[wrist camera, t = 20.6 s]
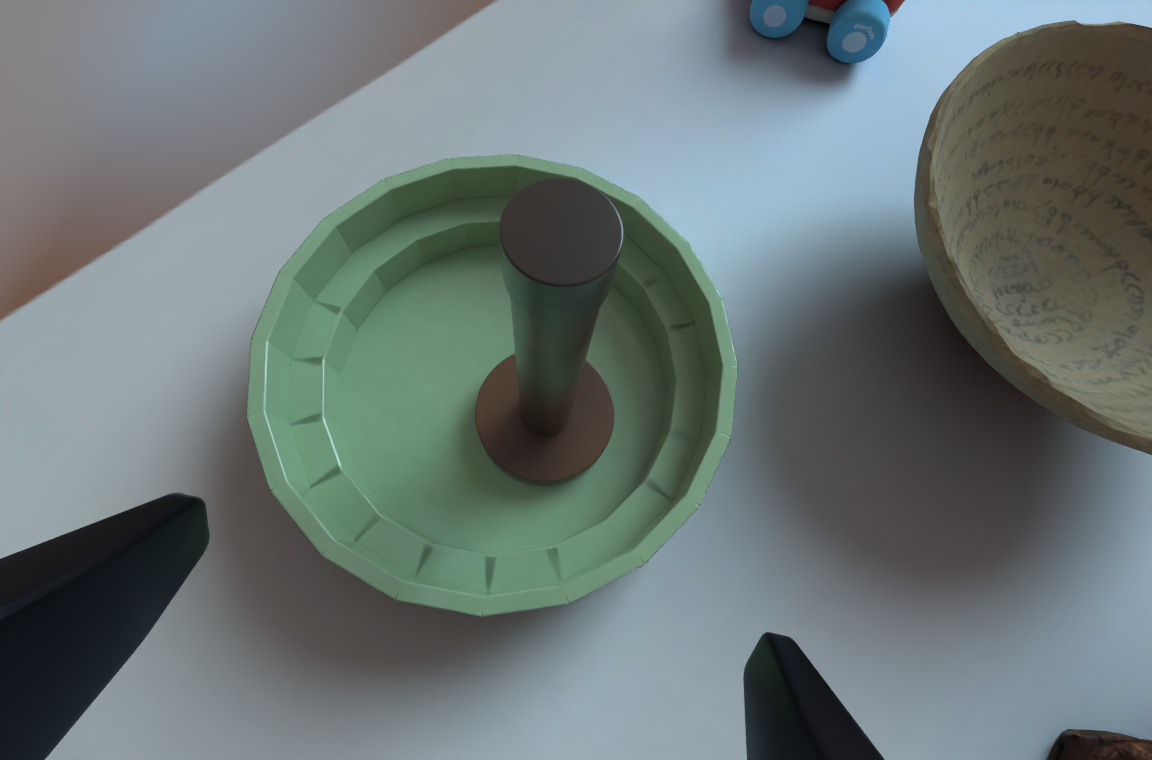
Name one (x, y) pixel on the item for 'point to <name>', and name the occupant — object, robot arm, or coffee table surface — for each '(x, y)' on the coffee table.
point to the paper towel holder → (552, 334)
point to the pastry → (1100, 746)
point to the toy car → (830, 22)
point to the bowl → (1050, 219)
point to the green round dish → (451, 386)
